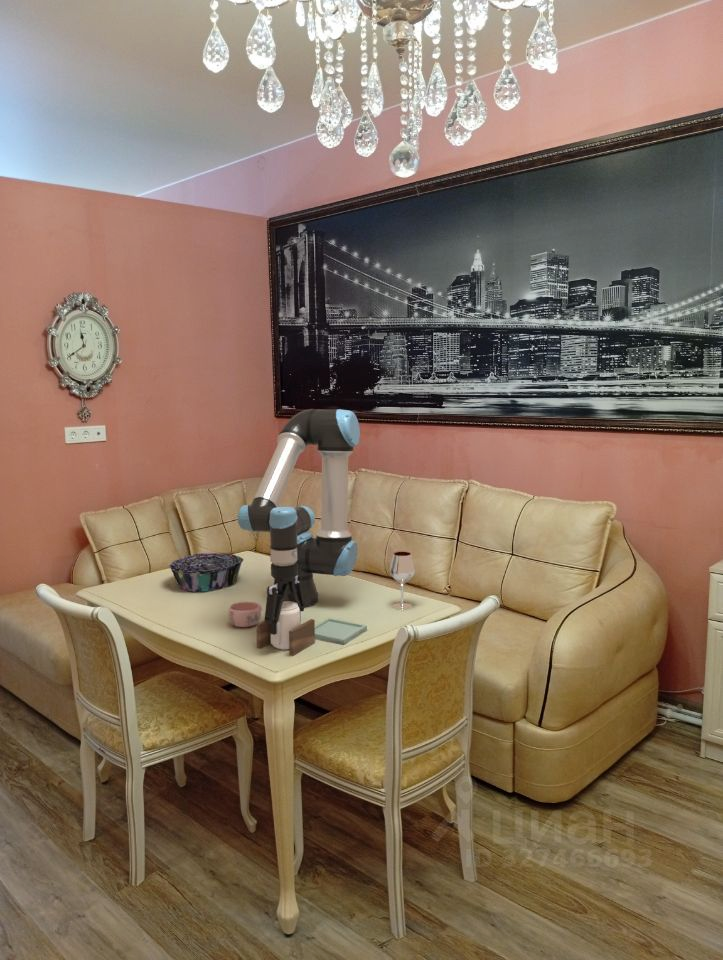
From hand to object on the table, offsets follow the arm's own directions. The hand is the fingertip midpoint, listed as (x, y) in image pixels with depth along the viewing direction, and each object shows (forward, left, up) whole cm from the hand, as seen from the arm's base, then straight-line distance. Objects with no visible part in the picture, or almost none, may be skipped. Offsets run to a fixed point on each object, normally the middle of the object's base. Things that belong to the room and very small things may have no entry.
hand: (286, 638), depth 215 cm
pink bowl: (-21, +9, -2) cm, 23 cm away
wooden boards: (0, 0, -2) cm, 2 cm away
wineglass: (+14, +46, -2) cm, 48 cm away
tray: (+7, +15, -2) cm, 17 cm away
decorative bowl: (-60, +35, -3) cm, 70 cm away
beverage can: (0, 0, -2) cm, 2 cm away
